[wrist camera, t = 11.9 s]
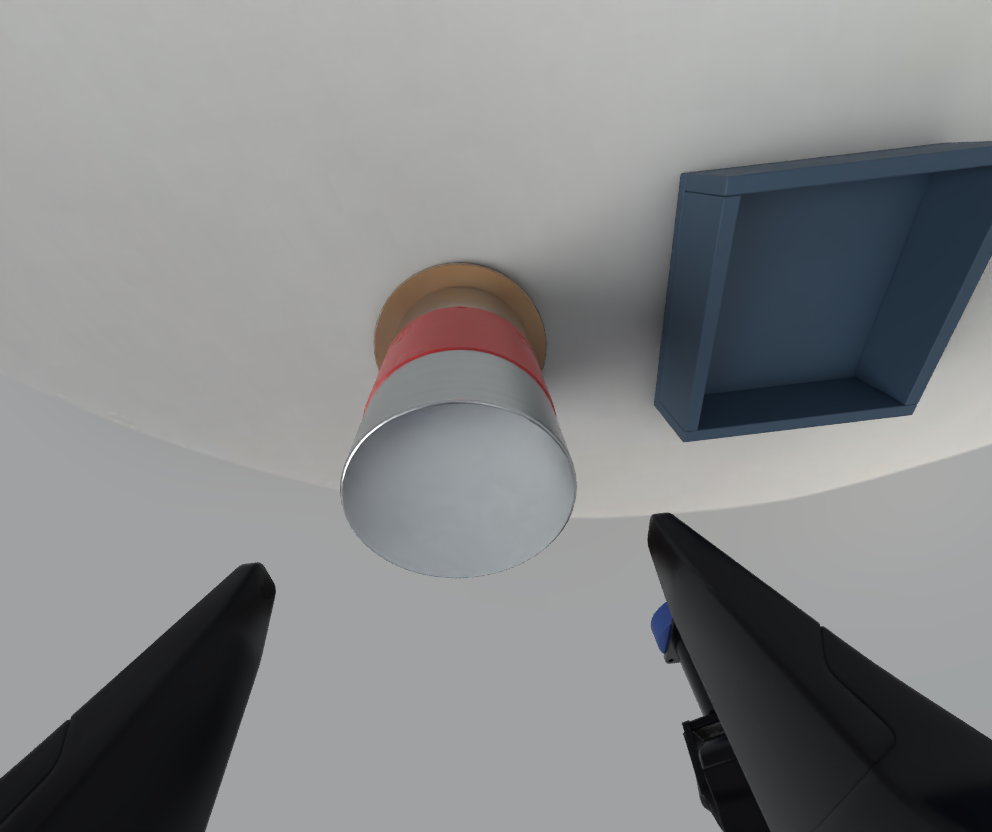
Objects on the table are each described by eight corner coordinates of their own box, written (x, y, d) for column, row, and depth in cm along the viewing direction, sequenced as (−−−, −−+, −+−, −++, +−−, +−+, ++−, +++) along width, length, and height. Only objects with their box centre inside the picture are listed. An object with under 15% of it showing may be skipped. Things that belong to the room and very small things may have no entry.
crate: (852, 381, 22) (912, 415, 19) (653, 405, 22) (683, 442, 19) (946, 142, 17) (1050, 139, 14) (680, 173, 17) (727, 176, 14)
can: (532, 403, 21) (578, 566, 13) (408, 418, 21) (372, 591, 13) (524, 277, 18) (580, 382, 9) (378, 294, 18) (301, 415, 9)
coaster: (547, 412, 22) (549, 416, 22) (396, 430, 22) (395, 434, 22) (541, 252, 18) (543, 253, 18) (354, 273, 18) (352, 276, 17)
